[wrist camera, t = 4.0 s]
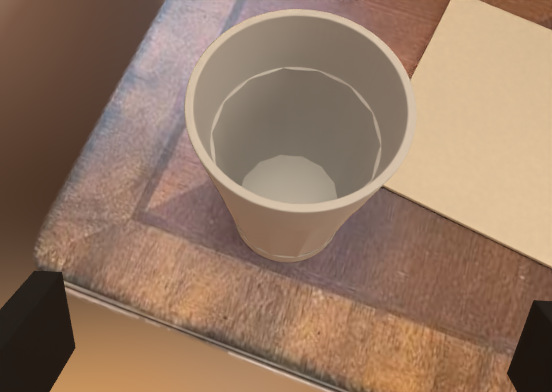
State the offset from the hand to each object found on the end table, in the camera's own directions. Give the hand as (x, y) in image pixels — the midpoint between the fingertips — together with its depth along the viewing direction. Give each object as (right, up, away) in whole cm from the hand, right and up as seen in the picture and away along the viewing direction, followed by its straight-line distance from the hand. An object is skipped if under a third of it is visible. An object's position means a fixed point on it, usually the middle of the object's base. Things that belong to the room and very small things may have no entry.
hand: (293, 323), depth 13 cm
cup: (0, +3, +14) cm, 14 cm away
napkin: (+16, +8, +16) cm, 24 cm away
